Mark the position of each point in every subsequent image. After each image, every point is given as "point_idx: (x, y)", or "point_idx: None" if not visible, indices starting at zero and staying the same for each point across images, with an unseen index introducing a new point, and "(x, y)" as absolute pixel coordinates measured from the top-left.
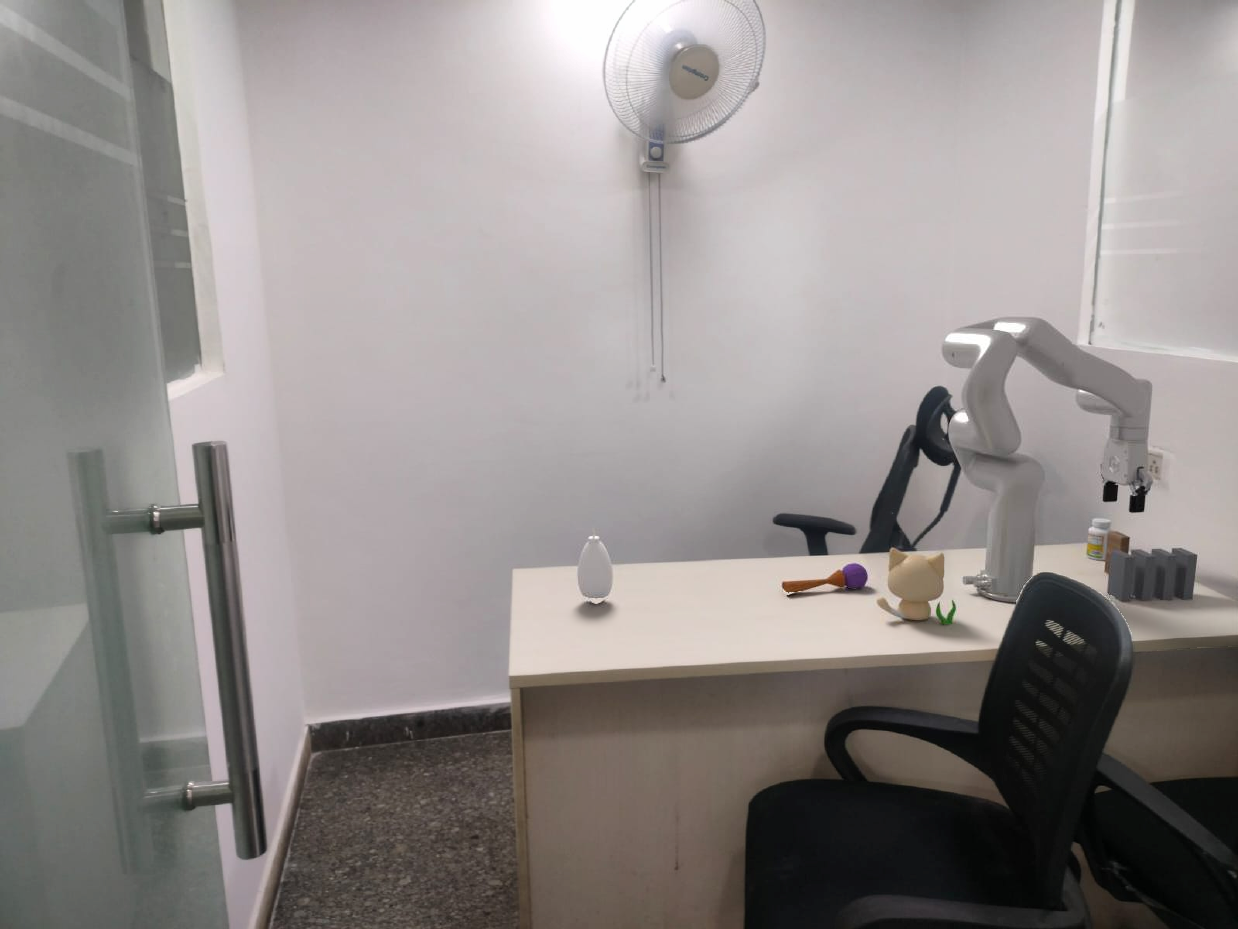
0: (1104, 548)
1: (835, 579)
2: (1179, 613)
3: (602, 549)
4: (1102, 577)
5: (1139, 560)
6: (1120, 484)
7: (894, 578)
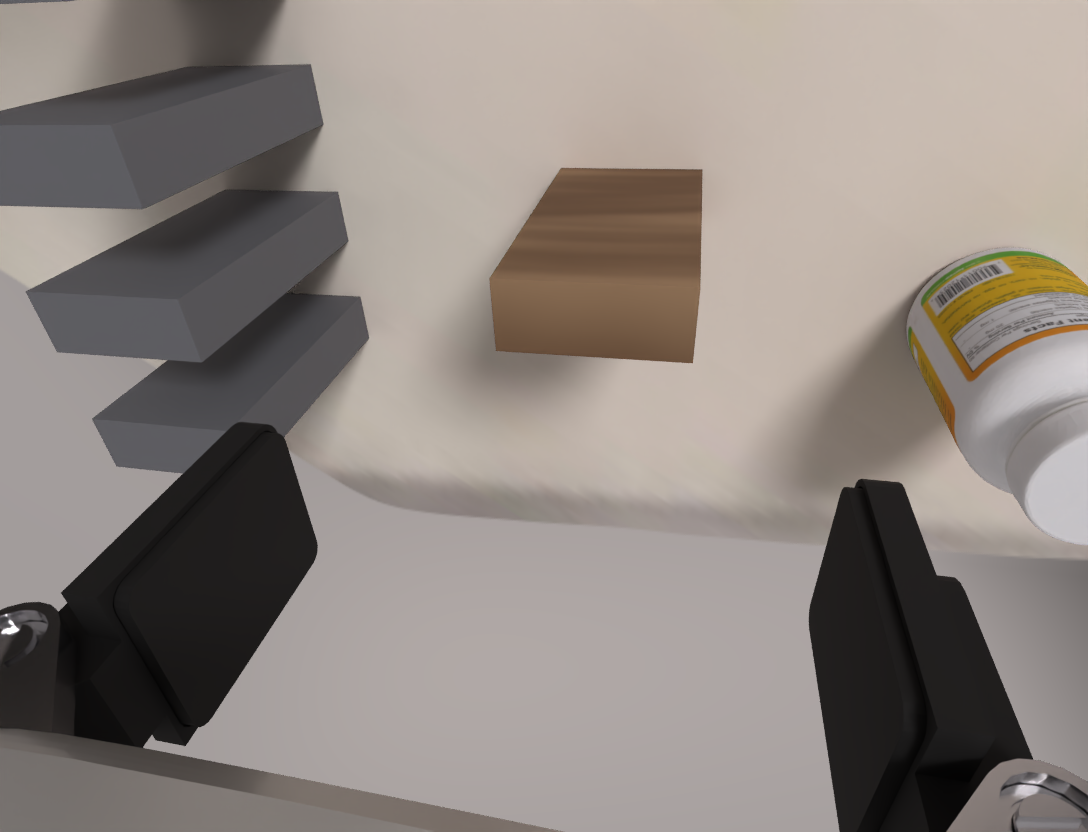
0: (934, 343)
1: None
2: None
3: None
4: (601, 88)
5: (55, 112)
6: (106, 744)
7: None
